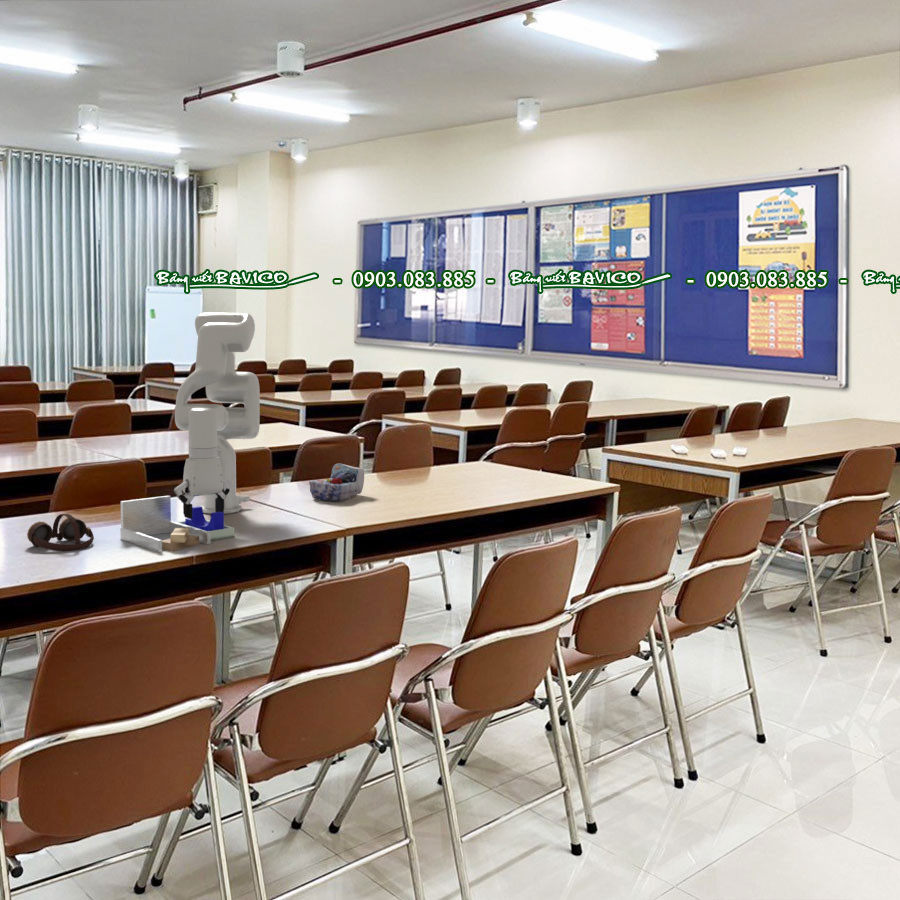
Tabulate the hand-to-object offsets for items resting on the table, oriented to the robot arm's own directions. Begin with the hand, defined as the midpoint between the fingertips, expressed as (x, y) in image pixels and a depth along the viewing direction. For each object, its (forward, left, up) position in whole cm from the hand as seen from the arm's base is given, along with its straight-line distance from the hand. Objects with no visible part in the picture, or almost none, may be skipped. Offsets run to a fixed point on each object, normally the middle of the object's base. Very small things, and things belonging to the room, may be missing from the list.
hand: (204, 515), depth 278 cm
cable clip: (0, 0, -5) cm, 5 cm away
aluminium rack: (+13, +2, -5) cm, 14 cm away
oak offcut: (+13, +9, -3) cm, 16 cm away
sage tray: (0, 0, -5) cm, 5 cm away
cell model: (-63, -21, -6) cm, 66 cm away
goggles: (+35, -10, -6) cm, 36 cm away
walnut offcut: (+13, +9, -6) cm, 17 cm away
